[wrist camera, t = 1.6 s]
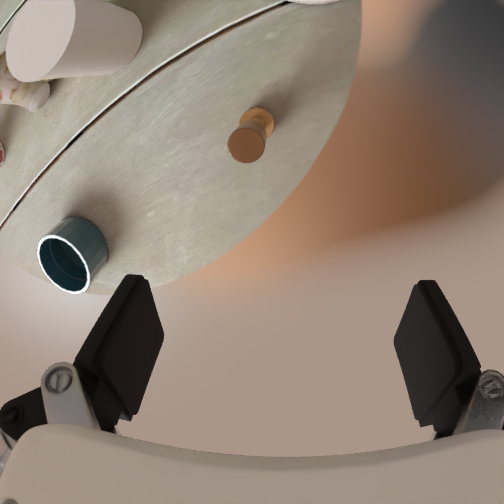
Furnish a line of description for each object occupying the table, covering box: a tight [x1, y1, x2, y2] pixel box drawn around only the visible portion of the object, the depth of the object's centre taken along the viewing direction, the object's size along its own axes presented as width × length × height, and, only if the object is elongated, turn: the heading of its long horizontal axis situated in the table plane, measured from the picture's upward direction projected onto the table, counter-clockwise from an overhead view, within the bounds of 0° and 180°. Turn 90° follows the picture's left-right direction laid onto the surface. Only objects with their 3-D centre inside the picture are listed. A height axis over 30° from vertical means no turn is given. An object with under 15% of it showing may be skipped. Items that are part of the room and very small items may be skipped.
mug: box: [0, 51, 53, 112], centre depth 22 cm, size 8×10×10 cm
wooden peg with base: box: [227, 107, 274, 163], centre depth 22 cm, size 3×3×12 cm
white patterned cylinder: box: [6, 0, 143, 82], centre depth 18 cm, size 8×8×12 cm
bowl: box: [37, 217, 108, 294], centre depth 34 cm, size 9×9×6 cm
